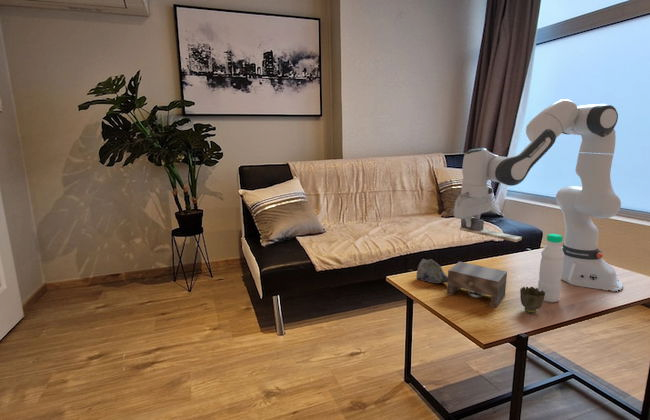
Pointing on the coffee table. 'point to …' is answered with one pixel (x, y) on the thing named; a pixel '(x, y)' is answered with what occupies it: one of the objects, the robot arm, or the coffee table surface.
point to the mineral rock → (431, 272)
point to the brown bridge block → (478, 281)
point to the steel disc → (475, 294)
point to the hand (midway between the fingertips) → (472, 225)
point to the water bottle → (551, 268)
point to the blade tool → (478, 229)
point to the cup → (531, 299)
